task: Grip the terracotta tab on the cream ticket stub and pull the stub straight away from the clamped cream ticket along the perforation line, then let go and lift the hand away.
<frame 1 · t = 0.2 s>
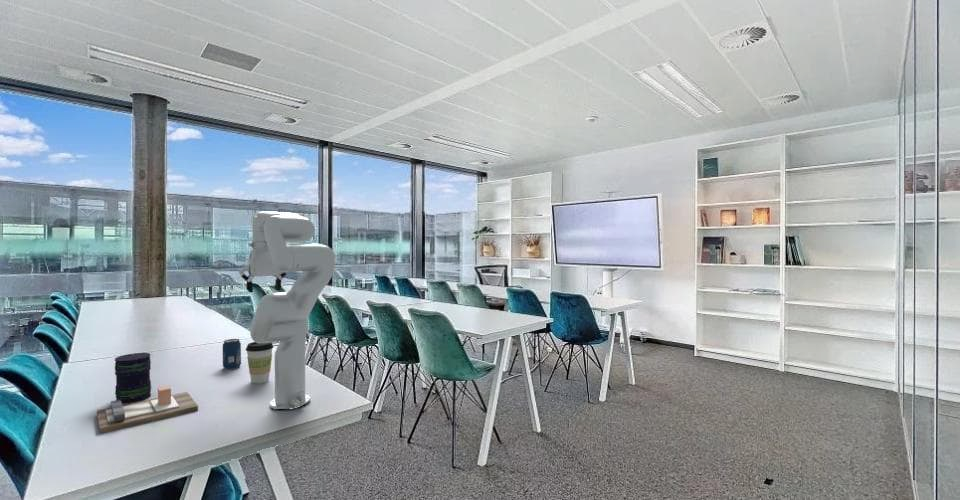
hand: (264, 291, 161), 36 cm above the table, tool pointing down, fingers open, 9 cm apart
ticket stub: (164, 396, 141), point 4 cm above the table, slide at 0.0 cm
storage jar: (133, 399, 150), on the table
soda can: (232, 367, 186), on the table
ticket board: (148, 412, 138), on the table
coffee cup: (260, 381, 168), on the table
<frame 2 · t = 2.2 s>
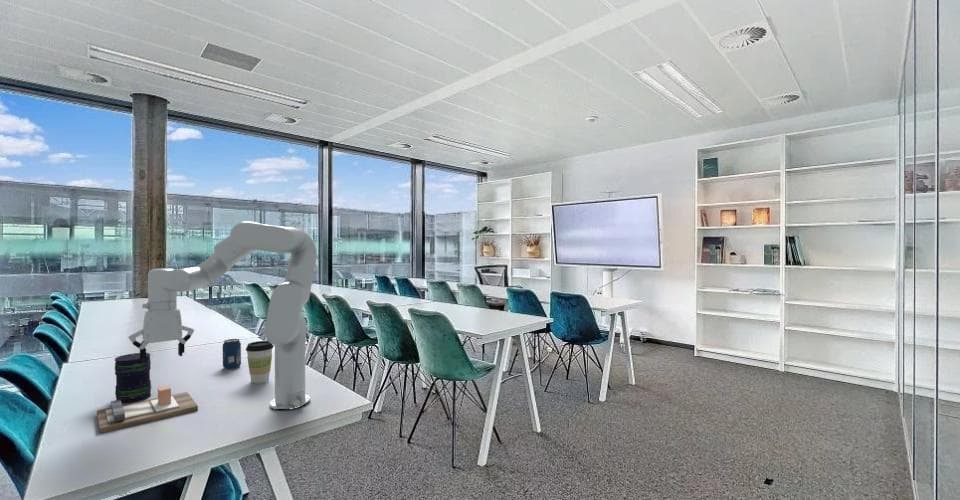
hand: (162, 357, 140), 17 cm above the table, tool pointing down, fingers open, 9 cm apart
nothing on the table moved.
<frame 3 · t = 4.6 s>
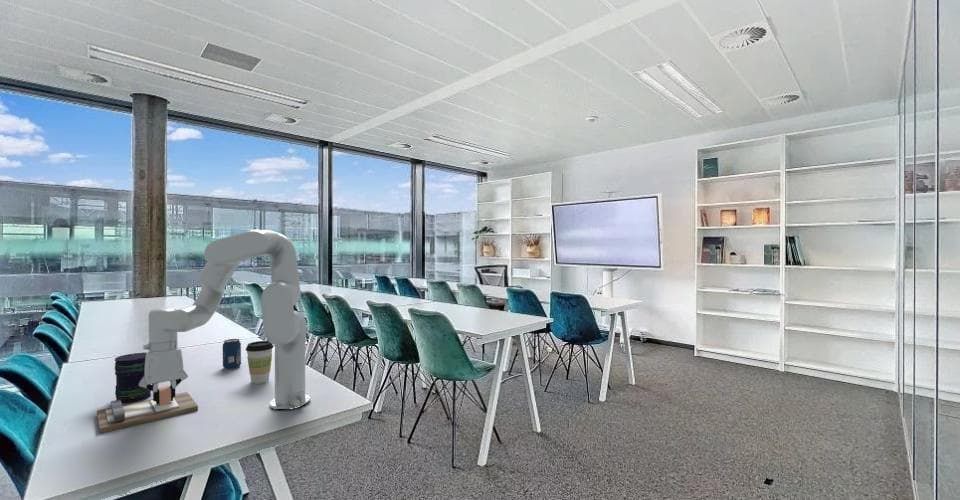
hand: (164, 400, 141), 3 cm above the table, tool pointing down, fingers closed on ticket stub, 3 cm apart
ticket stub: (164, 396, 141), point 4 cm above the table, slide at 0.0 cm, touching gripper
everything else where it was.
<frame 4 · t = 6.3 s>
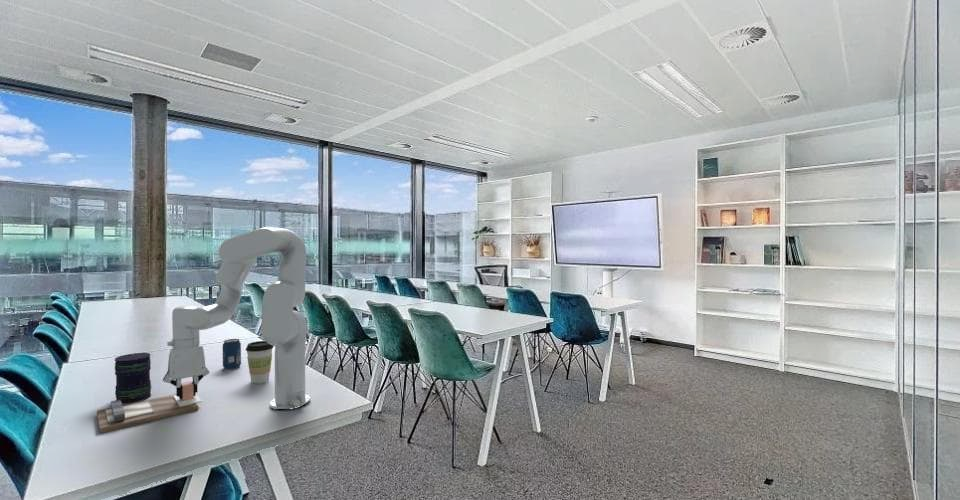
hand: (187, 396, 145), 3 cm above the table, tool pointing down, fingers closed on ticket stub, 3 cm apart
ticket stub: (187, 391, 145), point 4 cm above the table, slide at 6.3 cm, touching gripper
everything else where it was.
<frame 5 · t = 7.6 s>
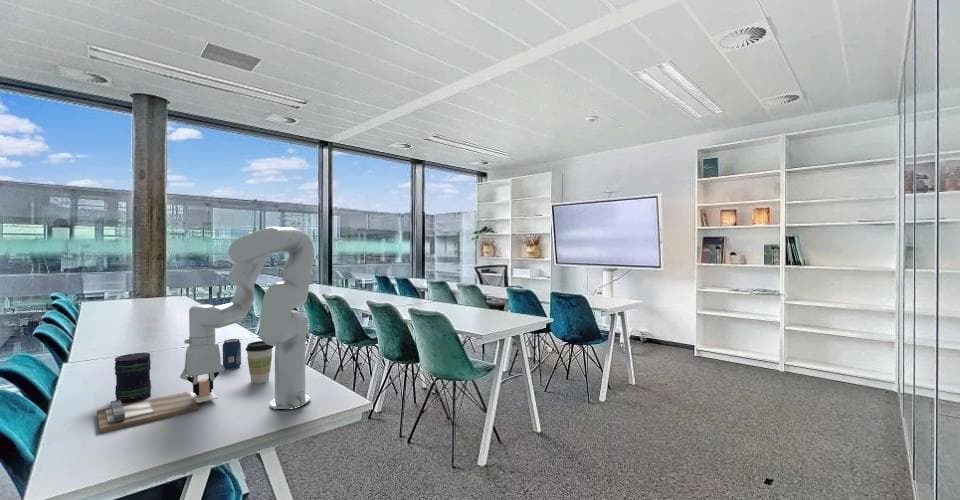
hand: (203, 392, 148), 3 cm above the table, tool pointing down, fingers closed on ticket stub, 3 cm apart
ticket stub: (203, 388, 148), point 4 cm above the table, slide at 10.9 cm, touching gripper
everything else where it was.
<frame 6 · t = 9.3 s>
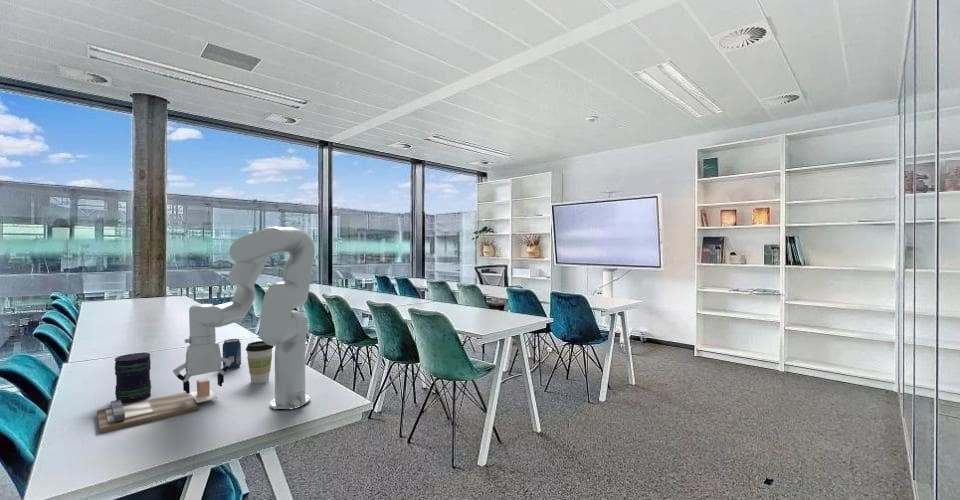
hand: (204, 388, 148), 4 cm above the table, tool pointing down, fingers open, 9 cm apart
ticket stub: (203, 388, 148), point 4 cm above the table, slide at 11.0 cm
everything else where it was.
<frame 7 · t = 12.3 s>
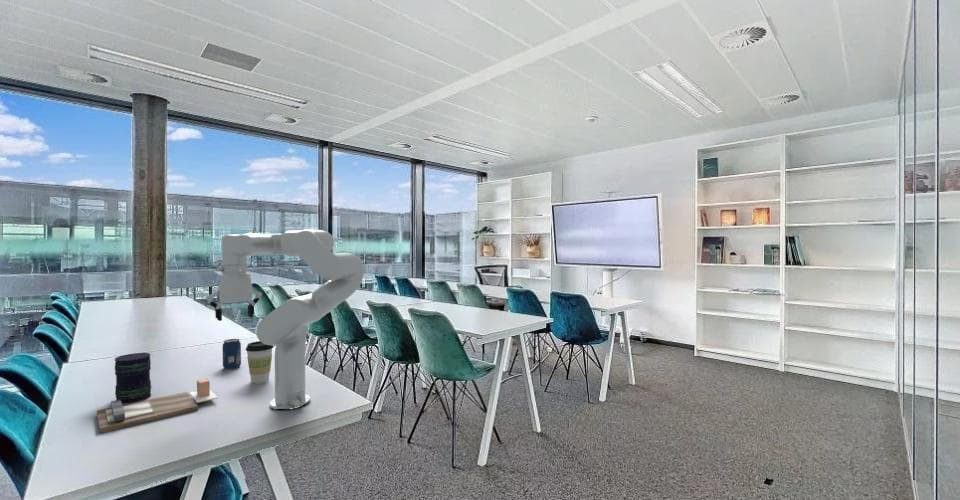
hand: (235, 318, 149), 28 cm above the table, tool pointing down, fingers open, 9 cm apart
nothing on the table moved.
at the end: ticket stub slide at 11.0 cm; the gripper is holding nothing; storage jar moved 0.2 cm from its start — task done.
